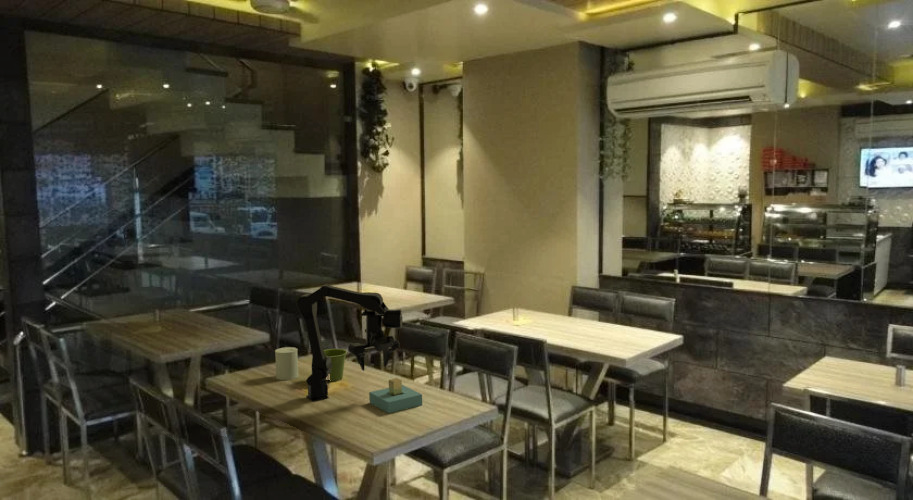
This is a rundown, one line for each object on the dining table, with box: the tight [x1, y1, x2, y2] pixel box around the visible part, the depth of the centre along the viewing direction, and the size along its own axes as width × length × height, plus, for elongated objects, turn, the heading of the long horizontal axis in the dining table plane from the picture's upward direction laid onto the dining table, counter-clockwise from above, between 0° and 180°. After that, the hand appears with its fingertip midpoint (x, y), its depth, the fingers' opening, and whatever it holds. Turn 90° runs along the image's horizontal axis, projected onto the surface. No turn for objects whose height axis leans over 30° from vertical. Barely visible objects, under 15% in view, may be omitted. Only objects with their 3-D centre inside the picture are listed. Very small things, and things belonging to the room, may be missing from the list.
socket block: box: [368, 384, 423, 414], centre depth 237 cm, size 14×14×4 cm
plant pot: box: [323, 348, 348, 382], centre depth 267 cm, size 12×12×11 cm
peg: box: [388, 377, 403, 396], centre depth 237 cm, size 3×3×9 cm
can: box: [274, 346, 300, 381], centre depth 271 cm, size 9×9×12 cm
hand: (374, 368), depth 242 cm, fingers open, 9 cm apart
